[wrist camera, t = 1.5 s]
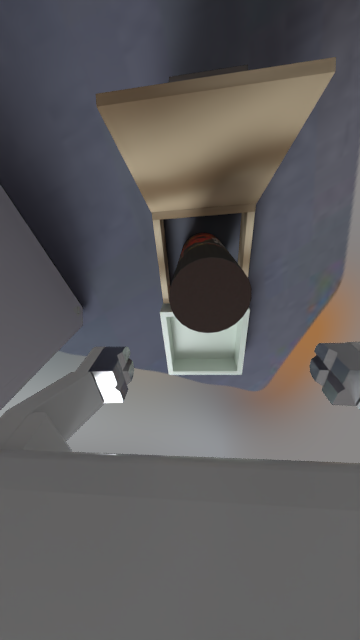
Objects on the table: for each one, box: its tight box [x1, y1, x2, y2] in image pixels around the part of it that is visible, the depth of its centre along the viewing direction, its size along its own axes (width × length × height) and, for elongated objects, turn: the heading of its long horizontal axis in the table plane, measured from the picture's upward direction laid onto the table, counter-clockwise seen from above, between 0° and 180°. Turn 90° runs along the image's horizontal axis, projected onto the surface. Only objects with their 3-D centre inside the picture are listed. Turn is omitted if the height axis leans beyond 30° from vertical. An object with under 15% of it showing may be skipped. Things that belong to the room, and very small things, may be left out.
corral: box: [152, 203, 256, 304], centre depth 25 cm, size 12×12×3 cm
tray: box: [160, 302, 250, 375], centre depth 31 cm, size 13×13×4 cm
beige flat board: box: [96, 57, 336, 212], centre depth 15 cm, size 12×12×1 cm
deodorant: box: [169, 233, 251, 333], centre depth 20 cm, size 6×6×15 cm
